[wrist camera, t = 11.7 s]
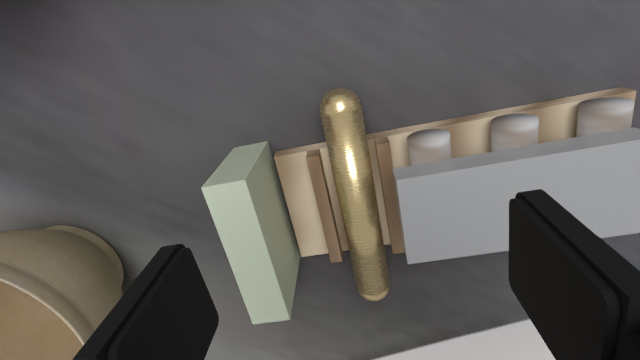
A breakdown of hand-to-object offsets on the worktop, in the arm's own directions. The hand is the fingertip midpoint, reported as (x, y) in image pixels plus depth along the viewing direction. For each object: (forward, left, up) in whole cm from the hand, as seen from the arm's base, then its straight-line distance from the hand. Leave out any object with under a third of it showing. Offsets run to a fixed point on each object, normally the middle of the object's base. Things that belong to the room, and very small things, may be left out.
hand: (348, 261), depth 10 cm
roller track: (-7, +8, -20) cm, 22 cm away
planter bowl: (+29, +11, -20) cm, 37 cm away
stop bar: (+8, +8, -20) cm, 23 cm away
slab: (-11, +8, -15) cm, 20 cm away
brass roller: (0, +7, -18) cm, 20 cm away
